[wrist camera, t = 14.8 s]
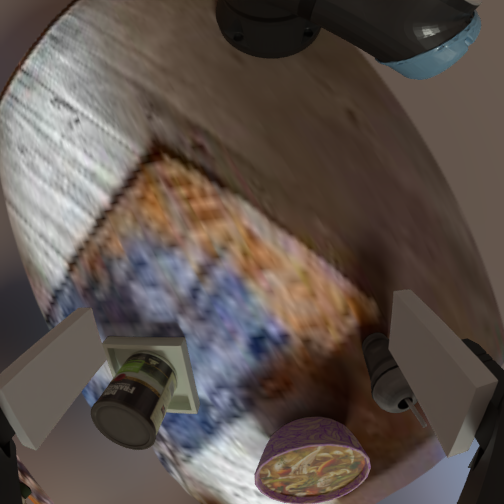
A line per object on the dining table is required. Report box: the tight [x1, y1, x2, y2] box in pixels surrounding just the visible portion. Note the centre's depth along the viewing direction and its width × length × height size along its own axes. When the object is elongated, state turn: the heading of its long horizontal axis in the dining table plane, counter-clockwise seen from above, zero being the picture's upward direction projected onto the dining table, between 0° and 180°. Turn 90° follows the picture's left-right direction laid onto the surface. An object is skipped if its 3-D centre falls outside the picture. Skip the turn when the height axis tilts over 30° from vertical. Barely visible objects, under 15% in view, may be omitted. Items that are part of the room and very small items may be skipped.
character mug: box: [20, 483, 32, 504], centre depth 70 cm, size 11×7×13 cm, turn 71°
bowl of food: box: [255, 417, 371, 504], centre depth 49 cm, size 20×20×12 cm
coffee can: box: [91, 351, 178, 450], centre depth 45 cm, size 10×10×14 cm
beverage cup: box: [362, 333, 427, 427], centre depth 39 cm, size 7×7×20 cm
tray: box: [102, 336, 200, 414], centre depth 51 cm, size 14×14×3 cm
